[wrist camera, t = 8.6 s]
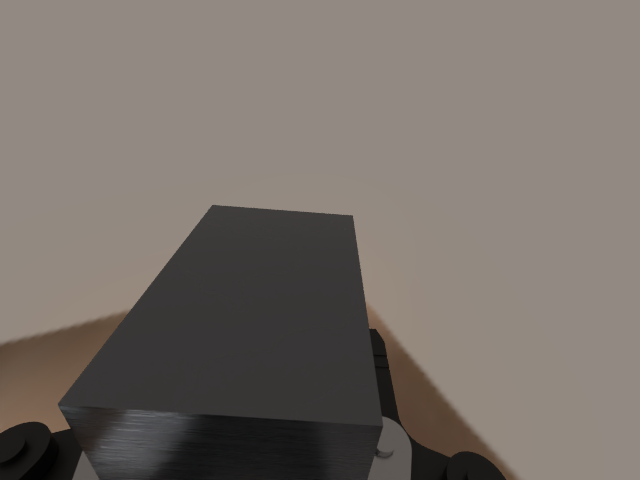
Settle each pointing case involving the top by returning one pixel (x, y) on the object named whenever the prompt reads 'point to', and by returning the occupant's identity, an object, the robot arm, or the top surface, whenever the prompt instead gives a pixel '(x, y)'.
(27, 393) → the top surface
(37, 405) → the top surface
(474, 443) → the top surface
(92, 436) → the block
